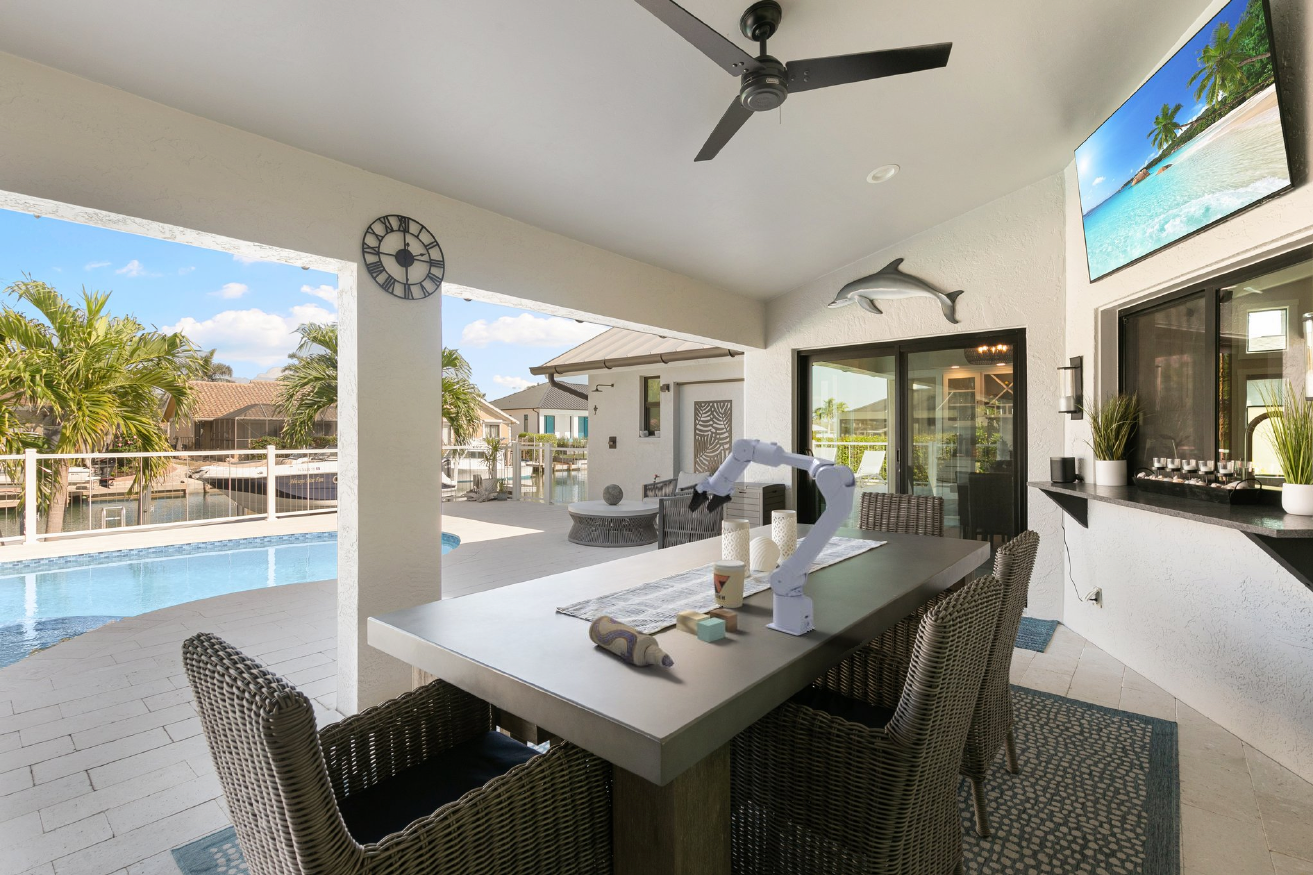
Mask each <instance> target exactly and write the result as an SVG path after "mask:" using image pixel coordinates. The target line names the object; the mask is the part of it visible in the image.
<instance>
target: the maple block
mask: <svg viewBox="0 0 1313 875" xmlns="http://www.w3.org/2000/svg"><path fill="white" fill-rule="evenodd" d="M675 619H676V620H675V621H676V627H675V628H676V630H679V631H681V632H682V631H683V632H685V633H688V634H691V635H695V636H698V622H701V621H704V620H708V619H710V615H709V614H708V615H707V614H704V613H700V612H698V611H695V610H691V609H687V610H684V611H681V612H677V613H676V616H675Z"/></svg>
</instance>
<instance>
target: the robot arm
mask: <svg viewBox="0 0 1313 875" xmlns="http://www.w3.org/2000/svg"><path fill="white" fill-rule="evenodd" d="M751 462H753V463H754V464H758V465H759V464H760V465H762V466H763V465H764V466H768V467H773V468H778V467H779V466H781V465H784V466H789V467H792V468H797V469H799V470H803V471H804V470H805V471H807V472H808V474H809V476H810V478H811V479H815V481H814V482H815V484H816V487H817V488H818V490H819V491H820V493H821V494H822V496H823V498H824V501H825V504H826V508H825V510H824V511H823V513H822V514H821V515H820V517H819V518H818V520H817V521H816V522H815V523H814V525H813V526H812V527H811V528H810V530H809V532H808V533H807V534H806V535H805V536H804V538H803V540H802V541H801V542H800V543H799V545H798V546H797V547H796V549H795V550H794V552H793V553H792V555H790V557H788V558H786V560H784V561H783V562H782V563H781V565H780V566H778V567H777V568H775V569H773V570H772V571H771V572H769V575H768V584H769V586H770V588H771V590H772V592H773V594H772V595H773V597H772V598H773V599H772V601H773V602H772V603H773V604H772V605H773V606H772V608H773V609H772V611H773V613H772V614H773V615H772V617H773V618H772V622H771V623H768V624H765V627H766V628H768V629H772V630H775V631H780V632H783V633H787V634H789V635H794V636H800V635H803V634H805V633H808V632H807V631H809V632H810V630H811V631H813V630H812V629H814V630H815V626H814V602H813V600H812V598H810V597H809V596H806V595H805V594H803V593H804V592H803V586H805V584H806V583H807V581H808V576H809V575H808V574H809V573H810V571H811V570H812V567H811V566H812V564H813V563H814V561H815V560H816V559H817V558H818V557H819V555H820V554H821V552H822V551H823V550H824V549H825V547H826V546H827V545H828V543H829V542H830V541H831V539H832V538H833V537H834V536H835V534H836V533H837V532H838V530H839V529H840V528H841V527H842V525H843V524H844V523H845V521H846V520H847V519H848V517H849V516H850V515H851V513H852V511H853V507H854V506H853V504H854V497H855V496H854V494H855V489H856V488H857V485H858V483H857V480H856V477H855V473H854V471H853V470H852V468H851V467H850V466H848V465H846V464H838V462H836V461H833V460H830V459H826V458H821V457H818V456H811V455H804V454H799V453H794V452H788V451H785V449H784V448H783V446H781V445H779V444H778V442H776V441H770V442H769V443H768V442H764V441H761V440H760V439H758V438H757V439H756V438H754V439H753V438H752V439H751V438H744V439H743V438H739V439H736V440H735V441H734V442H733V443H732V445H731V452H730V453H729V455H728V456H727V457H726V458H725V460H724V461H723V462H722V464H721V465H720V466H719V467H718V469H717V470H716V471H715V473H714V474H713V475H712V476H707V480H706V481H703V482H698V483H695V484H694V486H693V488H692V491H693V492H692V496H691V499H690V501H689V504H688V510H689V511H690V512H691V513H695V512H697V510H698V509H699V508H701V506H702V505H704V504H705V503H706V502H707V505H706V506H705V508H706V511H708V513H710V514H712V513H713V512H715V511H717V509H718V508H720V507H721V506H723V505H726V504H728V503H730V502H731V501H732V499H733V498H732V497H731V496H733V495H734V494H735V492H736V488H735V487H734V486H733V485H734V484H735V483H736V481H737V480H738V479H739V477H740V476H741V475H742V474H743V473H744V471H745V470H746V469H747V467H748V466H749V465H750V464H751ZM837 464H838V465H837ZM708 493H712V494H713V495H712V497H711V498H710V497H709V496H708Z"/></svg>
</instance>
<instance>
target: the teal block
mask: <svg viewBox="0 0 1313 875" xmlns="http://www.w3.org/2000/svg"><path fill="white" fill-rule="evenodd" d="M723 638H726V631H725V620H721V619H718V618H711V619H710V618H709V619H708V620H704V621H701V622H698V635H697V640H700V641H703V642H706V643H710V642H714V641H717V640H720V639H723Z"/></svg>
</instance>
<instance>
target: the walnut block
mask: <svg viewBox="0 0 1313 875" xmlns="http://www.w3.org/2000/svg"><path fill="white" fill-rule="evenodd" d="M711 618H718V619H721V620H725V633H730V632H733V631H736V630H738V613H735V612H732V611H728V610H725V609H721V608H717V609H714V610H710V611H709V619H711Z"/></svg>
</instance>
